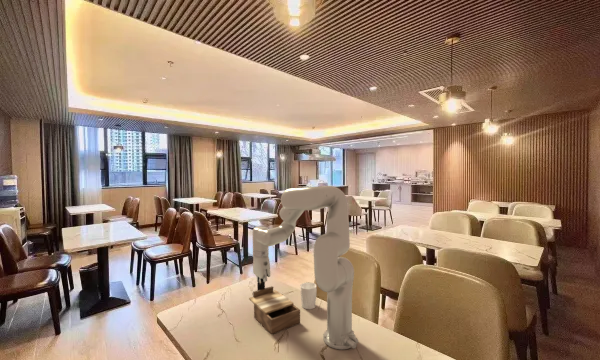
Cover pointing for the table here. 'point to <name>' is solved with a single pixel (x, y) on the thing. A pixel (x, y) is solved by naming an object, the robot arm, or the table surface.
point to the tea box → (278, 318)
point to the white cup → (308, 295)
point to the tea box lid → (269, 300)
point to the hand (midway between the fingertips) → (261, 290)
